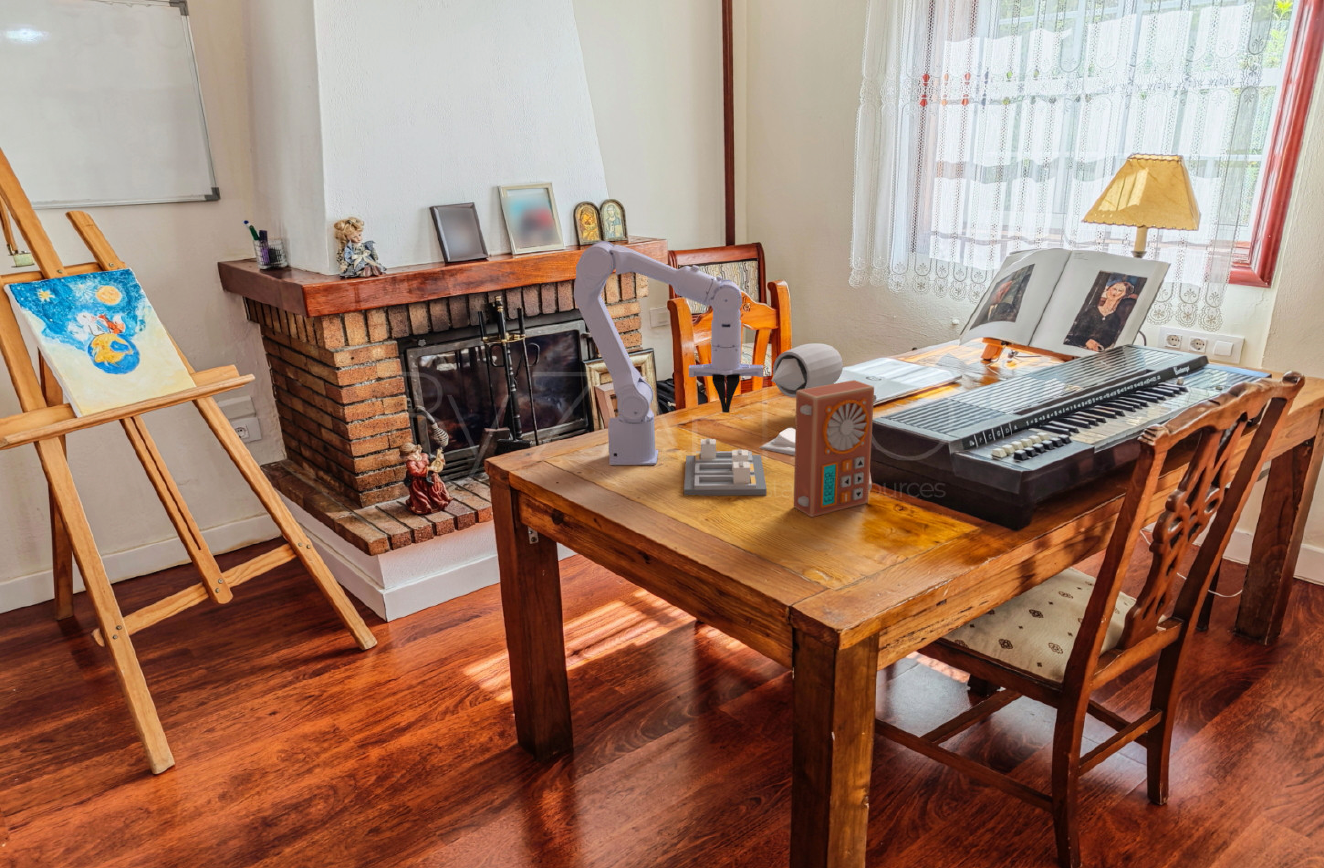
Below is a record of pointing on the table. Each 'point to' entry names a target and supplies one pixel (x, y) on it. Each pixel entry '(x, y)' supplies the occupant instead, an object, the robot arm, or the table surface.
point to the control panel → (833, 447)
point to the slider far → (708, 448)
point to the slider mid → (739, 456)
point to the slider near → (741, 472)
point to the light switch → (782, 442)
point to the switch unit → (722, 476)
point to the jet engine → (806, 368)
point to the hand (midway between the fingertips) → (725, 411)
